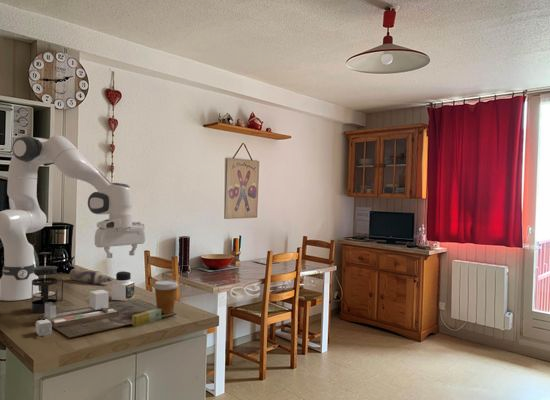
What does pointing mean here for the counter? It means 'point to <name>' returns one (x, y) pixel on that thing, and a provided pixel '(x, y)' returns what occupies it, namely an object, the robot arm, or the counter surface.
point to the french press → (44, 287)
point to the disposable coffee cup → (165, 295)
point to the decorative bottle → (88, 276)
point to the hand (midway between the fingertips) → (120, 256)
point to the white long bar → (51, 313)
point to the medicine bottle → (123, 287)
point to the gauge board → (82, 317)
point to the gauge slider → (99, 300)
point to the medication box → (146, 317)
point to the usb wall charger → (43, 327)
